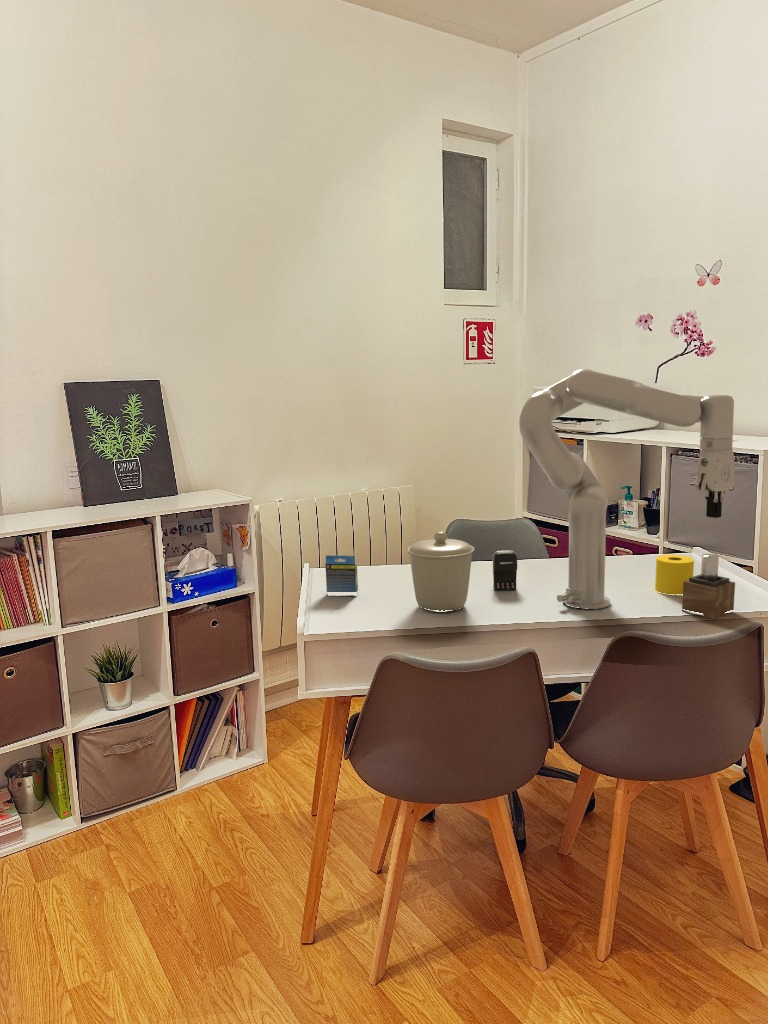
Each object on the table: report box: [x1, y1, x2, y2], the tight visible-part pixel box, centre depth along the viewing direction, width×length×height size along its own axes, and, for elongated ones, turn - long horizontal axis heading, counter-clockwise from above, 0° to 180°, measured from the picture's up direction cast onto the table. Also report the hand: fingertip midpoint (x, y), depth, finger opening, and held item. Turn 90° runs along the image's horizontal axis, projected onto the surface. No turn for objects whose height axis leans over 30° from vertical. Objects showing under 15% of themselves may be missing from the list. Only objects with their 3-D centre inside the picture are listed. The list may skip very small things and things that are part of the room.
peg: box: [700, 553, 720, 582], centre depth 205 cm, size 4×4×8 cm
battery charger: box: [492, 550, 518, 591], centre depth 231 cm, size 7×4×11 cm, turn 89°
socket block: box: [681, 573, 736, 620], centre depth 207 cm, size 9×9×9 cm
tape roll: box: [654, 554, 695, 595], centre depth 226 cm, size 10×10×9 cm
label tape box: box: [325, 554, 359, 593], centre depth 231 cm, size 9×4×12 cm, turn 83°
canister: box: [406, 531, 475, 611], centre depth 215 cm, size 18×18×21 cm
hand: (713, 516), depth 203 cm, fingers closed
